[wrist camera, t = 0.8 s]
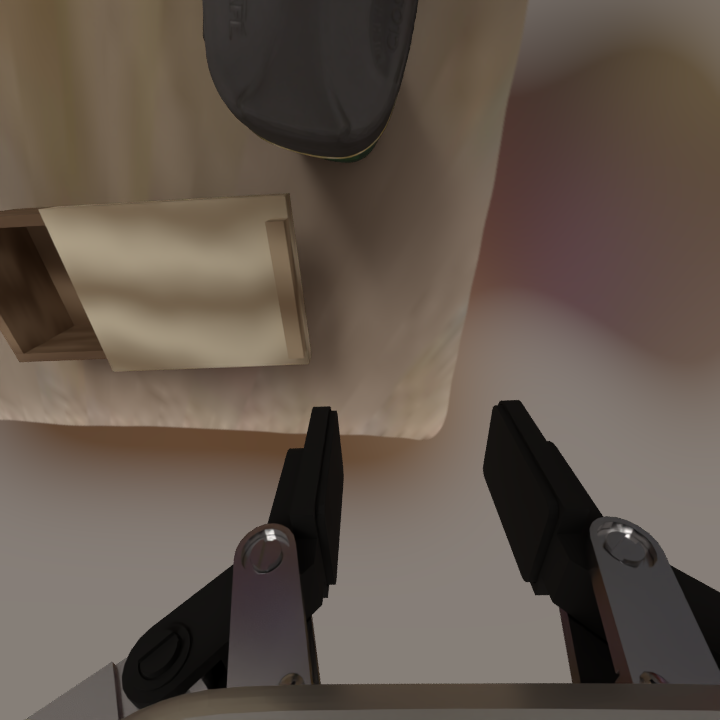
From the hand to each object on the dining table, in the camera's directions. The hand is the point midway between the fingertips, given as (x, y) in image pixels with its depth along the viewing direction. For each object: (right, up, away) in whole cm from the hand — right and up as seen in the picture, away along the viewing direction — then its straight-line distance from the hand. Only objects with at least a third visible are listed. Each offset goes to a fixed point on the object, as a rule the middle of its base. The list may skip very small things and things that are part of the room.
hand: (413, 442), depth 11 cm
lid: (-15, +8, +17) cm, 24 cm away
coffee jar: (-3, +24, +16) cm, 29 cm away
